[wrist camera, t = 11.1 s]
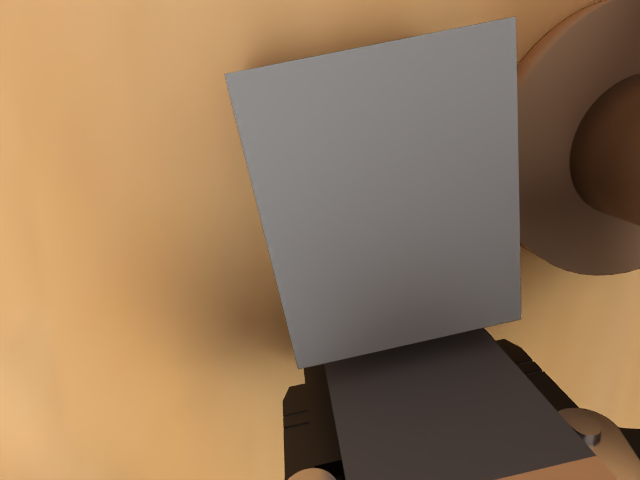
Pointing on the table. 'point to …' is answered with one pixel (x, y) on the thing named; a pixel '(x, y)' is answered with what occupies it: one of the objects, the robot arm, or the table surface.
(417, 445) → the tan rectangular block
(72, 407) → the table surface
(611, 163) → the bobbin
